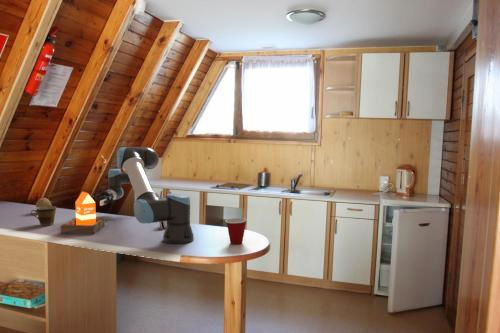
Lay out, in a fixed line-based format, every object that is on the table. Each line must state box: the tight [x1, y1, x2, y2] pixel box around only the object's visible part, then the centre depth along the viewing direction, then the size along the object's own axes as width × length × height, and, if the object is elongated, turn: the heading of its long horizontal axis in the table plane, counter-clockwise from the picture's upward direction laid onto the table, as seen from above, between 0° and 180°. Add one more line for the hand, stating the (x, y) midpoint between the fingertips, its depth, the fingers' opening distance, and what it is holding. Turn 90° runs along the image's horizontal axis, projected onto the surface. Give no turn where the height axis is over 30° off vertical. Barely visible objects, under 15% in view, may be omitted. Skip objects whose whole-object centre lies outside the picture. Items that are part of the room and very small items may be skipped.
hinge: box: [158, 221, 167, 230], centre depth 234 cm, size 17×5×10 cm, turn 159°
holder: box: [60, 217, 106, 235], centre depth 222 cm, size 17×17×4 cm
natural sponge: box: [35, 197, 53, 208], centre depth 262 cm, size 9×9×10 cm
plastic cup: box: [224, 217, 248, 246], centre depth 201 cm, size 11×11×12 cm
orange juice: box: [75, 191, 97, 225], centre depth 221 cm, size 8×9×20 cm
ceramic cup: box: [30, 205, 57, 227], centre depth 230 cm, size 13×10×10 cm
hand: (88, 202), depth 227 cm, fingers open, 13 cm apart
